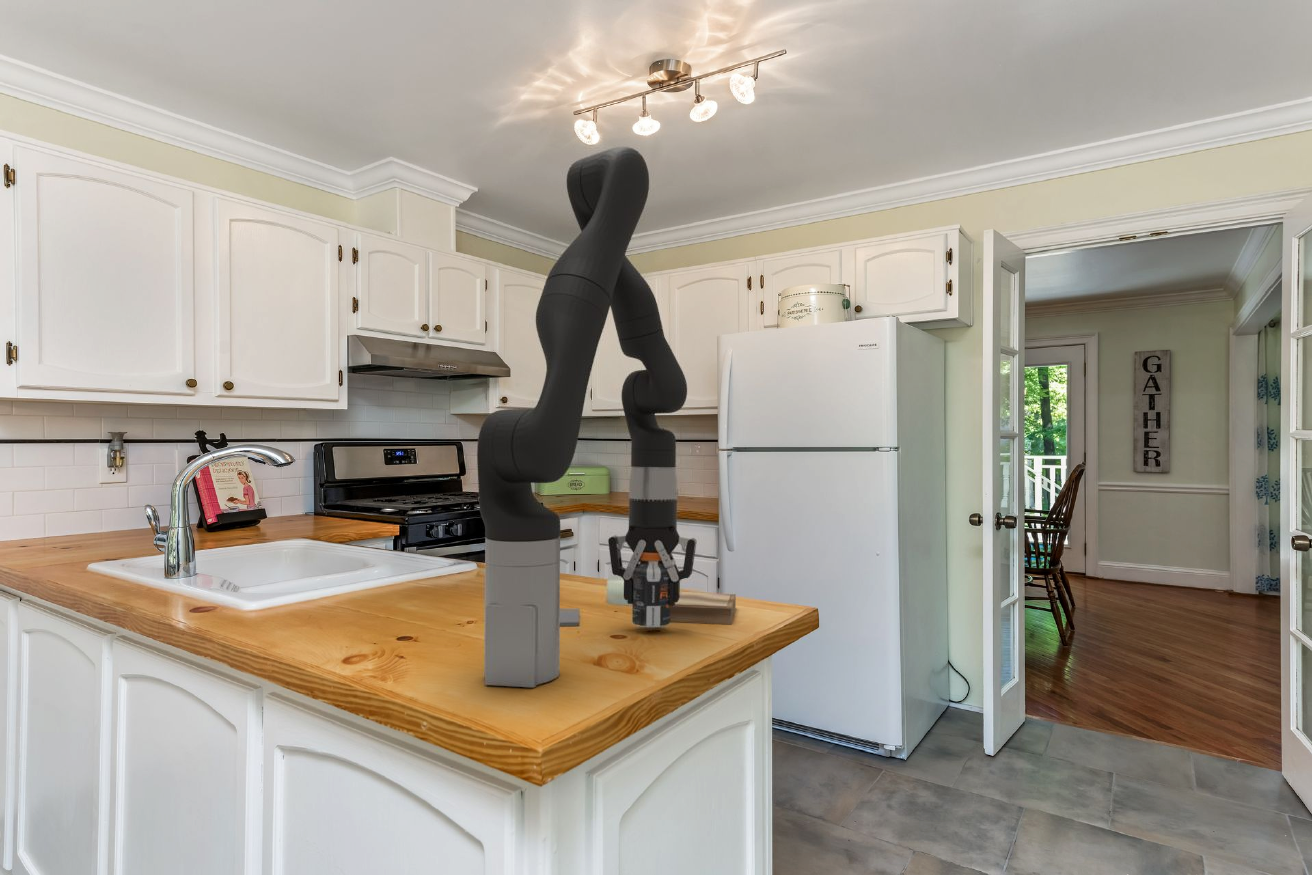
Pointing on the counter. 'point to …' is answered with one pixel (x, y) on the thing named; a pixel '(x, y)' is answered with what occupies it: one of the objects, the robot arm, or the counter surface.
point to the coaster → (569, 617)
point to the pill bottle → (651, 592)
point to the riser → (704, 608)
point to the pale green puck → (616, 591)
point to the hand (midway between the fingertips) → (651, 603)
